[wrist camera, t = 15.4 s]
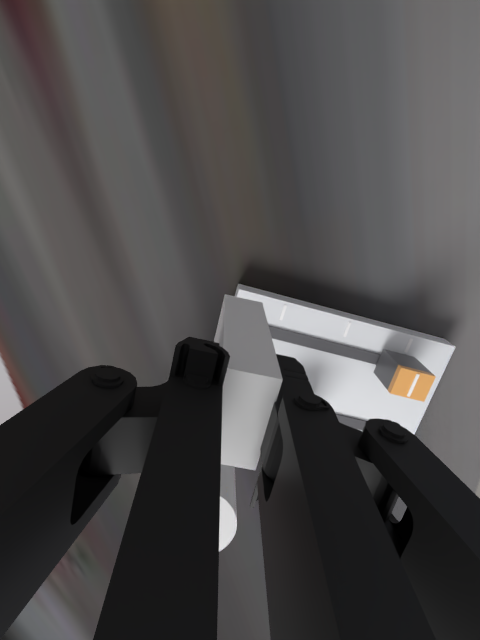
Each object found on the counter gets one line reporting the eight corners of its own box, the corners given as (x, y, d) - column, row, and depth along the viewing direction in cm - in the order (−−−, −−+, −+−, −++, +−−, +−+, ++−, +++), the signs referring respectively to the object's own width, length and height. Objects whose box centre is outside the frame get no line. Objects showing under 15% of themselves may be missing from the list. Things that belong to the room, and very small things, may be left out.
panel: (238, 283, 44) (239, 289, 41) (444, 338, 47) (456, 347, 44) (203, 405, 48) (202, 417, 46) (393, 449, 51) (402, 462, 49)
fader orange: (383, 348, 44) (401, 368, 39) (414, 356, 44) (436, 377, 40) (373, 372, 45) (390, 394, 40) (404, 379, 45) (424, 402, 40)
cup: (214, 406, 48) (211, 475, 37) (245, 458, 51) (251, 538, 40) (153, 434, 49) (132, 510, 38) (186, 484, 52) (175, 569, 40)
